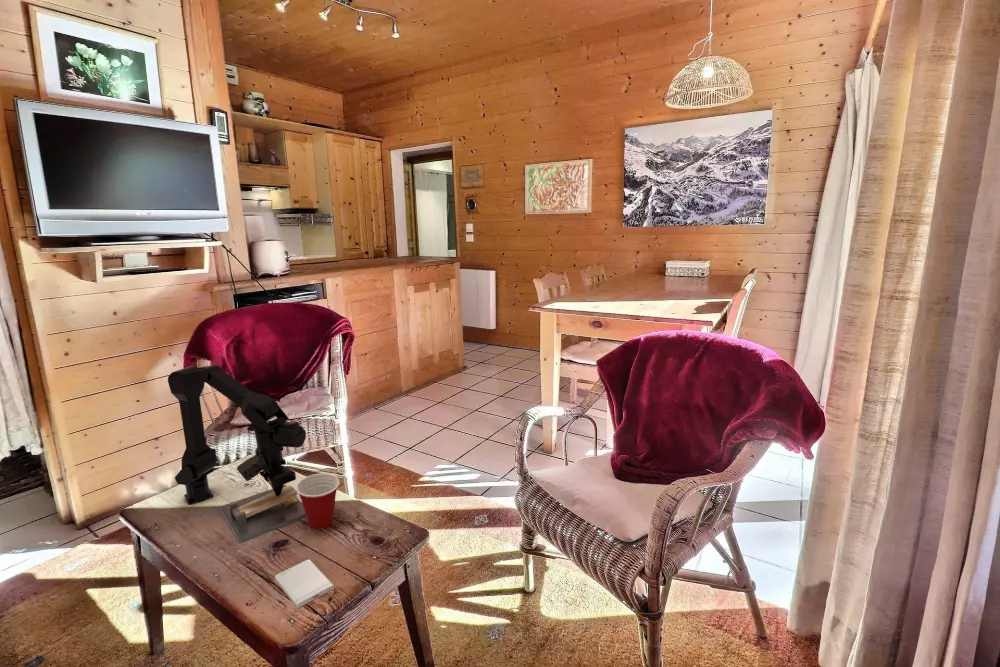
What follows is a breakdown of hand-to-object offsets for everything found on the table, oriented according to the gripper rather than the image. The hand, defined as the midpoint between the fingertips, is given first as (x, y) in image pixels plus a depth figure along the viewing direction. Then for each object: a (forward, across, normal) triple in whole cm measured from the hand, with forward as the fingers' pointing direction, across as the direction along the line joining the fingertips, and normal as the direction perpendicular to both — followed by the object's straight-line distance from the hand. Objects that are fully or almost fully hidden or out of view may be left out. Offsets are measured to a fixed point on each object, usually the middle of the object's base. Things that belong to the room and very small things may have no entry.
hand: (278, 495), depth 141 cm
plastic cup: (+5, +16, +6) cm, 17 cm away
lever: (+2, 0, -4) cm, 4 cm away
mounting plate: (+4, 0, -4) cm, 6 cm away
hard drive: (+5, +36, -7) cm, 36 cm away
